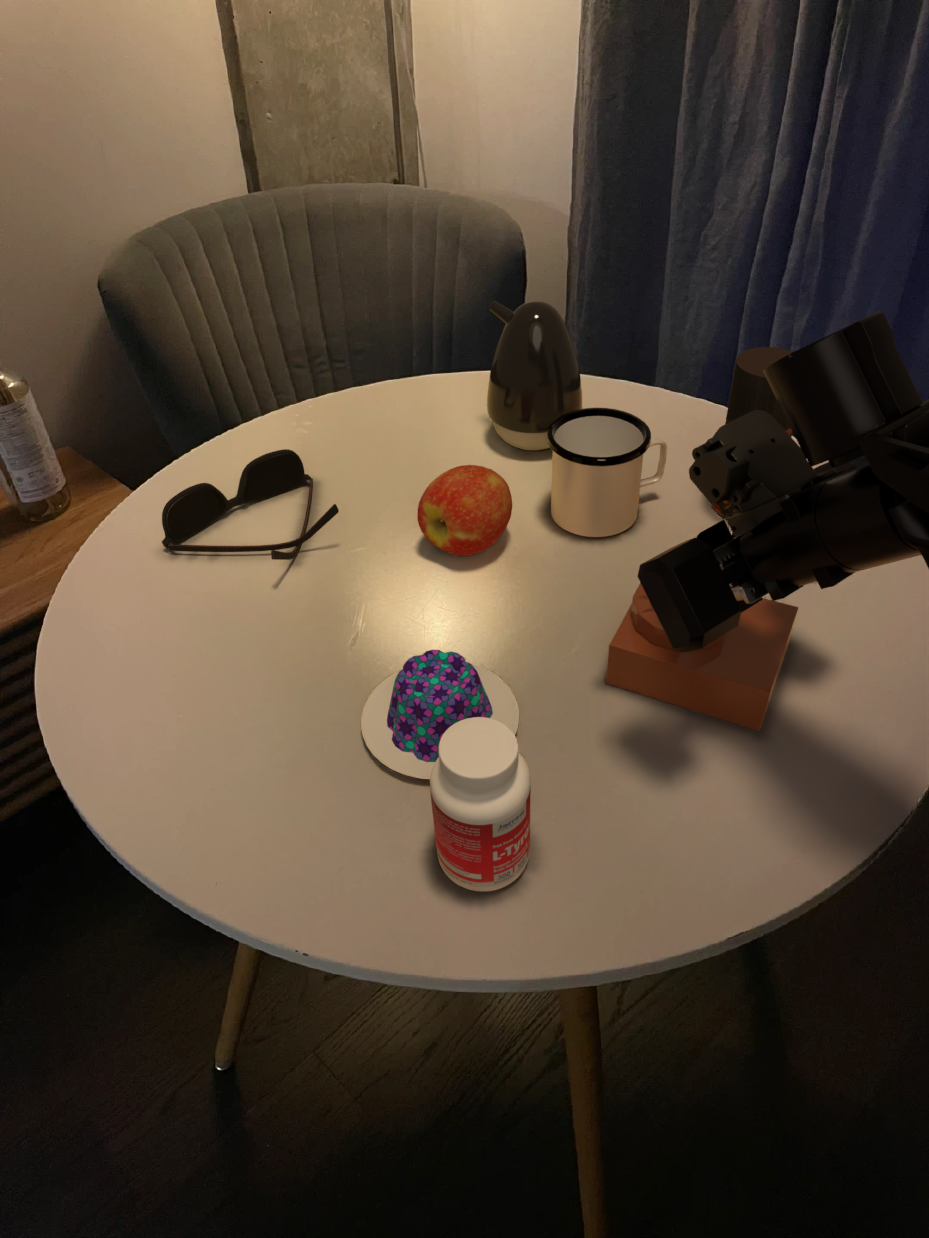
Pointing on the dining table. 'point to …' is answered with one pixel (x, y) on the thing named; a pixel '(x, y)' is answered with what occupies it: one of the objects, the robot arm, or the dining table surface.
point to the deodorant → (753, 396)
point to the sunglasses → (255, 484)
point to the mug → (599, 469)
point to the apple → (465, 509)
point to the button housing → (704, 662)
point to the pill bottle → (481, 805)
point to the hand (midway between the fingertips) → (687, 575)
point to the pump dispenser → (532, 374)
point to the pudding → (430, 709)
